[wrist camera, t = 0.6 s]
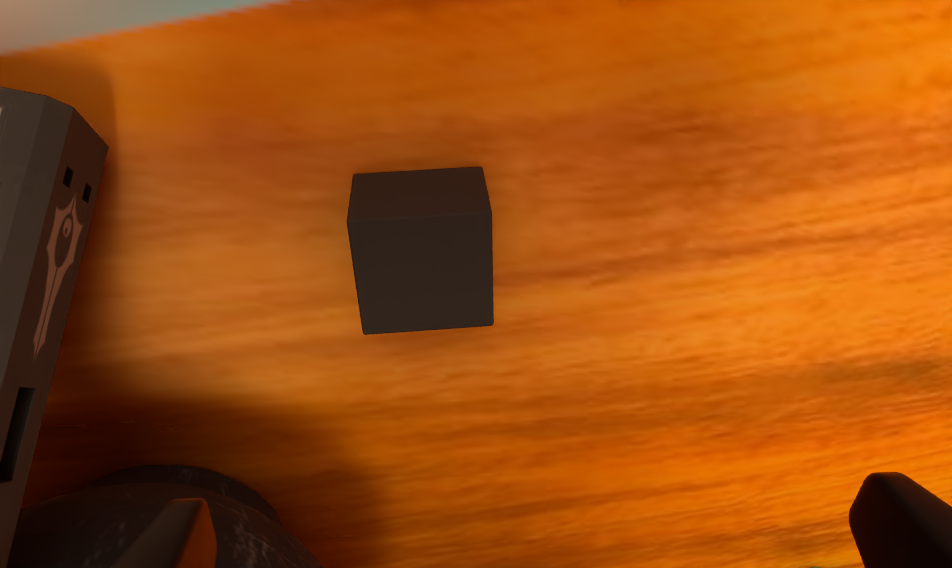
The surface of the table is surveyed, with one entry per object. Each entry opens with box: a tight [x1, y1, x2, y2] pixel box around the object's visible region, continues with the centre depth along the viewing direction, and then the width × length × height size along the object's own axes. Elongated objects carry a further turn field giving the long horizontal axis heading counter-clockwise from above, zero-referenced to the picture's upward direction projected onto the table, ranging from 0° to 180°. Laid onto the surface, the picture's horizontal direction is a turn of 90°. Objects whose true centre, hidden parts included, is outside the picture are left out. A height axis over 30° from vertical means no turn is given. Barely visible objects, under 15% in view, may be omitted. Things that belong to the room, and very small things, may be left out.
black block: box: [347, 167, 494, 335], centre depth 22 cm, size 4×4×3 cm
